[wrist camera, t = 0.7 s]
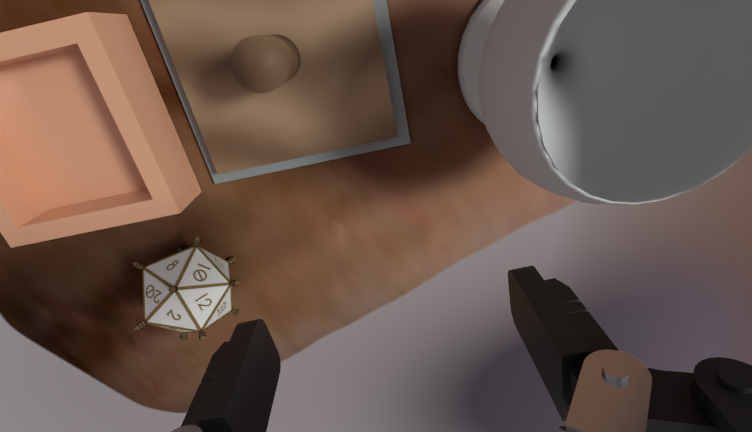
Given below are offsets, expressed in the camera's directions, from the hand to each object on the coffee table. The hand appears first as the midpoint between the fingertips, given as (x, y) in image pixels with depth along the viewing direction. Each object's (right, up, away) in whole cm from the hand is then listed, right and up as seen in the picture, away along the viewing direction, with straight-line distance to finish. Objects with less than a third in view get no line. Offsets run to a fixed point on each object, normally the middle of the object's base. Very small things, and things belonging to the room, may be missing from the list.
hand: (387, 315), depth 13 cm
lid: (-8, +15, +17) cm, 24 cm away
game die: (-16, -1, +25) cm, 30 cm away
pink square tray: (-24, +10, +19) cm, 32 cm away
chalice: (+12, +15, +18) cm, 27 cm away
